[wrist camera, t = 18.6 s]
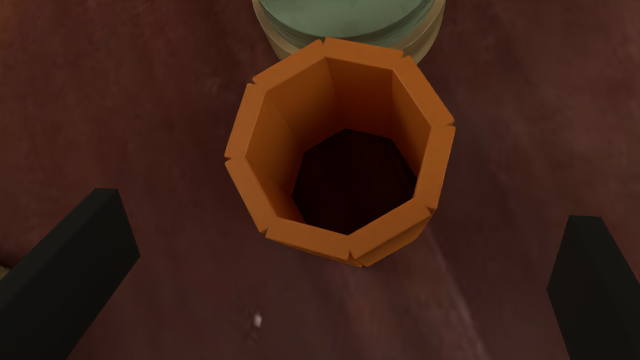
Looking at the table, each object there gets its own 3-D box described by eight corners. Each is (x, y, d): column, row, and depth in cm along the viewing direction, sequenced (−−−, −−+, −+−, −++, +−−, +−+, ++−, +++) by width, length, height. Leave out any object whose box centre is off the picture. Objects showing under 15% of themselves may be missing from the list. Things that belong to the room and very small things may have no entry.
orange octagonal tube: (459, 214, 22) (496, 178, 15) (325, 291, 23) (291, 296, 15) (379, 92, 24) (375, 4, 17) (256, 163, 25) (196, 109, 17)
